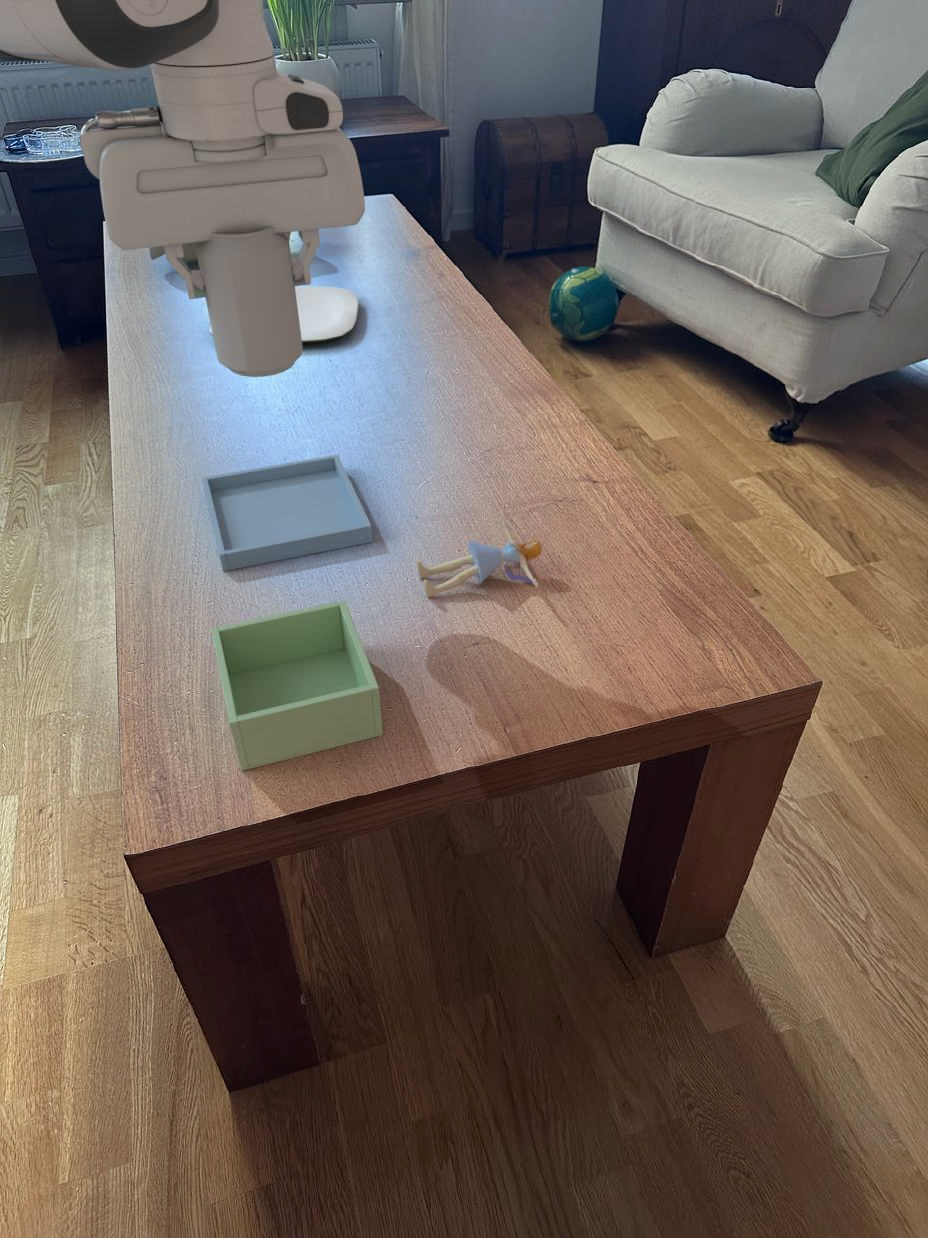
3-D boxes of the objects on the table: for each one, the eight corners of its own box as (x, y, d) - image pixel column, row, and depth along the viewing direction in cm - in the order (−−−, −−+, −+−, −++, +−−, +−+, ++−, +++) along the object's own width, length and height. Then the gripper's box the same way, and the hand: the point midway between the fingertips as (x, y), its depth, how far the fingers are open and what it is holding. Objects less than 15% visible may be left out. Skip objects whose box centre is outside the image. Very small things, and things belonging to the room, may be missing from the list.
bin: (241, 771, 67) (229, 723, 64) (222, 675, 75) (210, 628, 72) (383, 735, 70) (379, 687, 67) (350, 646, 78) (344, 599, 75)
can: (312, 347, 81) (296, 208, 73) (292, 383, 75) (271, 236, 68) (233, 343, 82) (208, 205, 74) (207, 379, 76) (177, 233, 68)
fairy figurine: (405, 525, 86) (521, 496, 88) (412, 563, 90) (524, 534, 91) (432, 596, 78) (560, 562, 79) (439, 635, 81) (562, 602, 83)
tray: (223, 571, 87) (219, 555, 85) (204, 493, 98) (201, 477, 96) (373, 541, 90) (371, 525, 89) (339, 469, 101) (337, 454, 100)
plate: (227, 296, 143) (225, 286, 142) (361, 294, 143) (361, 284, 142) (202, 352, 126) (200, 340, 125) (354, 349, 127) (353, 338, 126)
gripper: (72, 122, 61) (124, 319, 70) (362, 100, 65) (375, 287, 74) (72, 104, 65) (120, 292, 74) (343, 85, 70) (358, 263, 79)
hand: (250, 289), depth 74 cm, fingers closed on can, 7 cm apart
